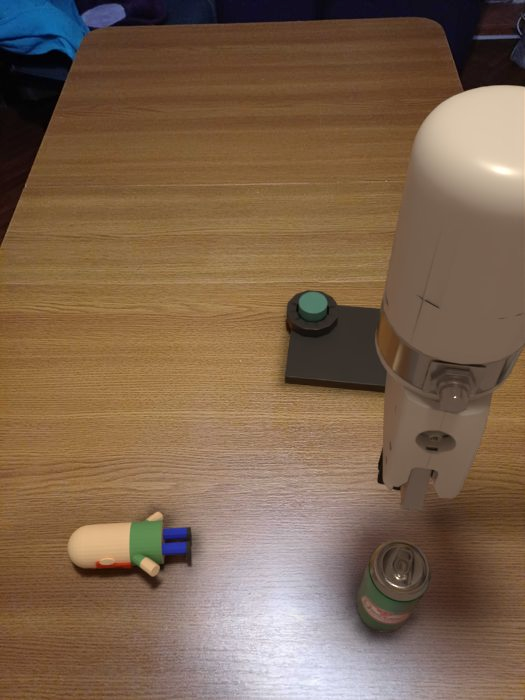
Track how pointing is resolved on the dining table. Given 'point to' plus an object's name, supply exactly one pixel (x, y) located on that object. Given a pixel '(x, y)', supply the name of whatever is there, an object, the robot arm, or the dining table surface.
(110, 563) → the toy figurine
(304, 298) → the button
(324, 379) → the scale
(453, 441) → the robot arm
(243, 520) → the dining table surface
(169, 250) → the dining table surface
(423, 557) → the soda can
